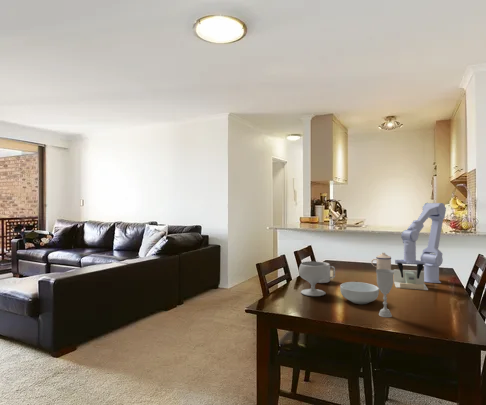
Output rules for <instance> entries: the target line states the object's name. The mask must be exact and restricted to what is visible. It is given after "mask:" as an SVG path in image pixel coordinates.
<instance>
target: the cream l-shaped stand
mask: <svg viewBox="0 0 486 405" xmlns="http://www.w3.org/2000/svg"><path fill="white" fill-rule="evenodd" d="M393 271H395V272H394V274H393V285H394V286H395V288H396V289H405V290H406V289H407V290H422V291H429V288H428V287H427V286H426V284H425V282H424V270H421V273H420V276H419V279H418V278H417V270H409V269H403V278H402V277H401V272H400V269H393ZM405 272H413V273H414V274H415V276H416V284H410V283H405Z"/></svg>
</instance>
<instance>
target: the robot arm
mask: <svg viewBox="0 0 486 405" xmlns="http://www.w3.org/2000/svg"><path fill="white" fill-rule="evenodd" d="M446 211H447V207H446V205H445V204H444V203H443V202H426V203H424V204H423V206H422V211H421V213H420V214H419V216H418V218H417V219H415V220H413V221H412V222H411V224H409V226H408V228H407V229H405V230H403V231H402V232H401V234H400V236H401V239H402V243H403V259H394V263H395V265H397V266H398V267H397V268H398V270H400V272H401V277H402V278H403V270H404V265H415V266H416V271H417V278H418V279H419V276H420V273H421V271H424V283H432V284H433V283H434V284H441V283H442V281H440V266H441V265H442V264H443V252H442V251H441V250H440V249H439V246H440V241H441V240H440V239H441V234H442V230H443V229H442V228H443V222H444V219H445V217H446ZM428 219H430V220H431V226H430V229H429V230H430V232H429V237H428V242H427V243H428V244H427V246H426V248H424V249H423V250H422V253H421V255H420V260H418V259H417V256H416V255H417V246H416V245H417V242H416V241H418V239H419V235H420V232H421V231H422V229H423V228H424V227H425V226H424V223H425V222H426V221H427V220H428Z"/></svg>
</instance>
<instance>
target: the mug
mask: <svg viewBox="0 0 486 405" xmlns="http://www.w3.org/2000/svg"><path fill="white" fill-rule="evenodd" d="M321 262H322V261H321ZM322 263H324V264H325V266H326V268H327V276H326V277H325V278H324V279H323V280H321V281H319V282H317V283H318V284H325V283H326V284H327V283H329V282H331V279H334V278H335V277H336V268H335V266H333V265H331V264H330V263H329V262H325V261H323V262H322ZM331 268H332V269H333V276H331ZM317 283H316V284H317Z"/></svg>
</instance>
